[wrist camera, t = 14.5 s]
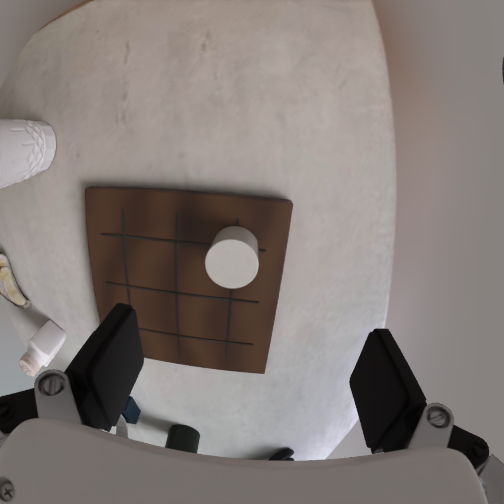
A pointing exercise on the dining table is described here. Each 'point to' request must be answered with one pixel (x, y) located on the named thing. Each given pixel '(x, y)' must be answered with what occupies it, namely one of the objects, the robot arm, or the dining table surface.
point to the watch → (127, 417)
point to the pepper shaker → (42, 348)
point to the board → (187, 272)
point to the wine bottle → (183, 439)
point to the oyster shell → (10, 285)
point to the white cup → (24, 149)
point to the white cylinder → (233, 257)
